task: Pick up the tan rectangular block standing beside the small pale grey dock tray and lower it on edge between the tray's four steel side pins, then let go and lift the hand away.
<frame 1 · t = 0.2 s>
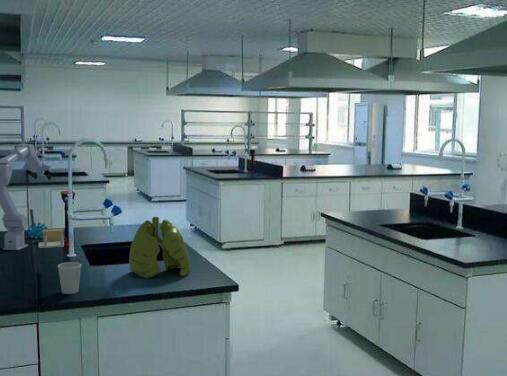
hand: (43, 178, 291), 31 cm above the table, tool tilted 45°, fingers open, 7 cm apart
lungs: (160, 273, 229), on the table
tan rectangular block: (53, 241, 282), on the table
tray: (53, 245, 274), on the table
dixie cup: (70, 292, 202), on the table
blue spiky piece: (39, 238, 290), on the table
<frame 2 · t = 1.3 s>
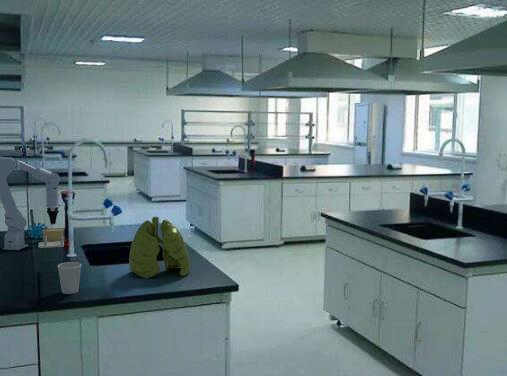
hand: (53, 222, 281), 10 cm above the table, tool pointing down, fingers open, 7 cm apart
nothing on the table moved.
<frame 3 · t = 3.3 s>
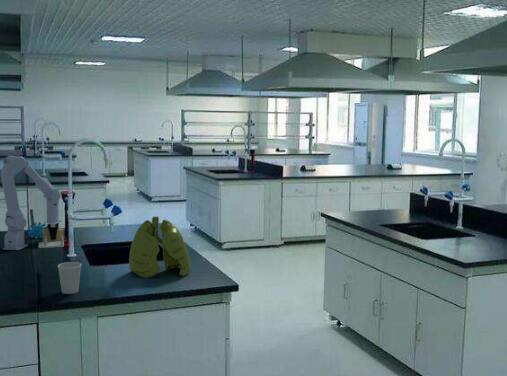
hand: (53, 238, 282), 1 cm above the table, tool pointing down, fingers closed on tan rectangular block, 4 cm apart
tan rectangular block: (53, 241, 282), on the table, touching gripper
everything else where it was.
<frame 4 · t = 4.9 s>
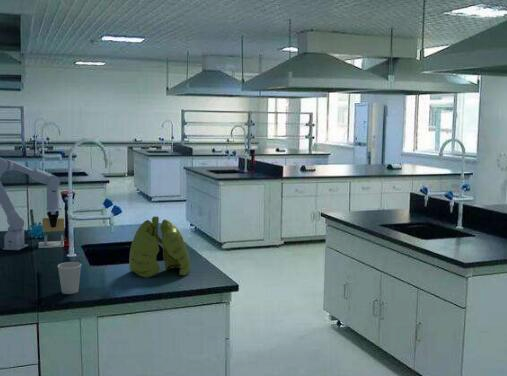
hand: (53, 226, 275), 9 cm above the table, tool pointing down, fingers closed on tan rectangular block, 4 cm apart
tan rectangular block: (53, 230, 276), point 7 cm above the table, touching gripper
everything else where it was.
when the fingers open (4 cm above the table, at t = 6.9 s): tan rectangular block stays where it is, resting on tray.
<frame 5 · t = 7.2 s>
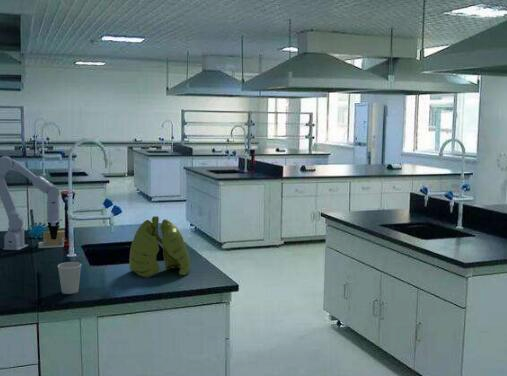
hand: (53, 237, 273), 4 cm above the table, tool pointing down, fingers open, 7 cm apart
tan rectangular block: (54, 243, 274), point 1 cm above the table, touching tray
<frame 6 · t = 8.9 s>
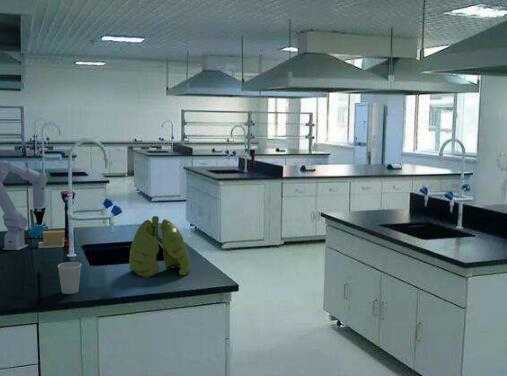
hand: (39, 223, 279), 9 cm above the table, tool pointing down, fingers open, 7 cm apart
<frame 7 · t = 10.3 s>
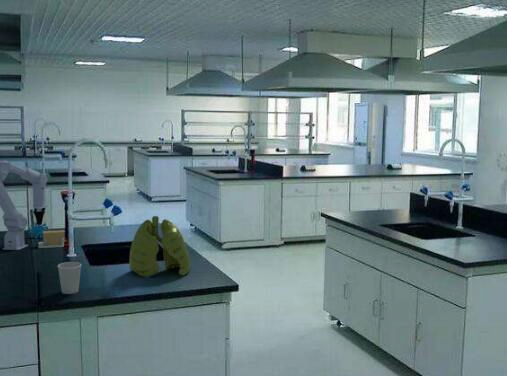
hand: (39, 223, 279), 9 cm above the table, tool pointing down, fingers open, 7 cm apart
at the end: tan rectangular block 0.1 cm off-centre on the tray, point 0.8 cm above the tray's base; tan rectangular block tilted 0°; the gripper is holding nothing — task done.
